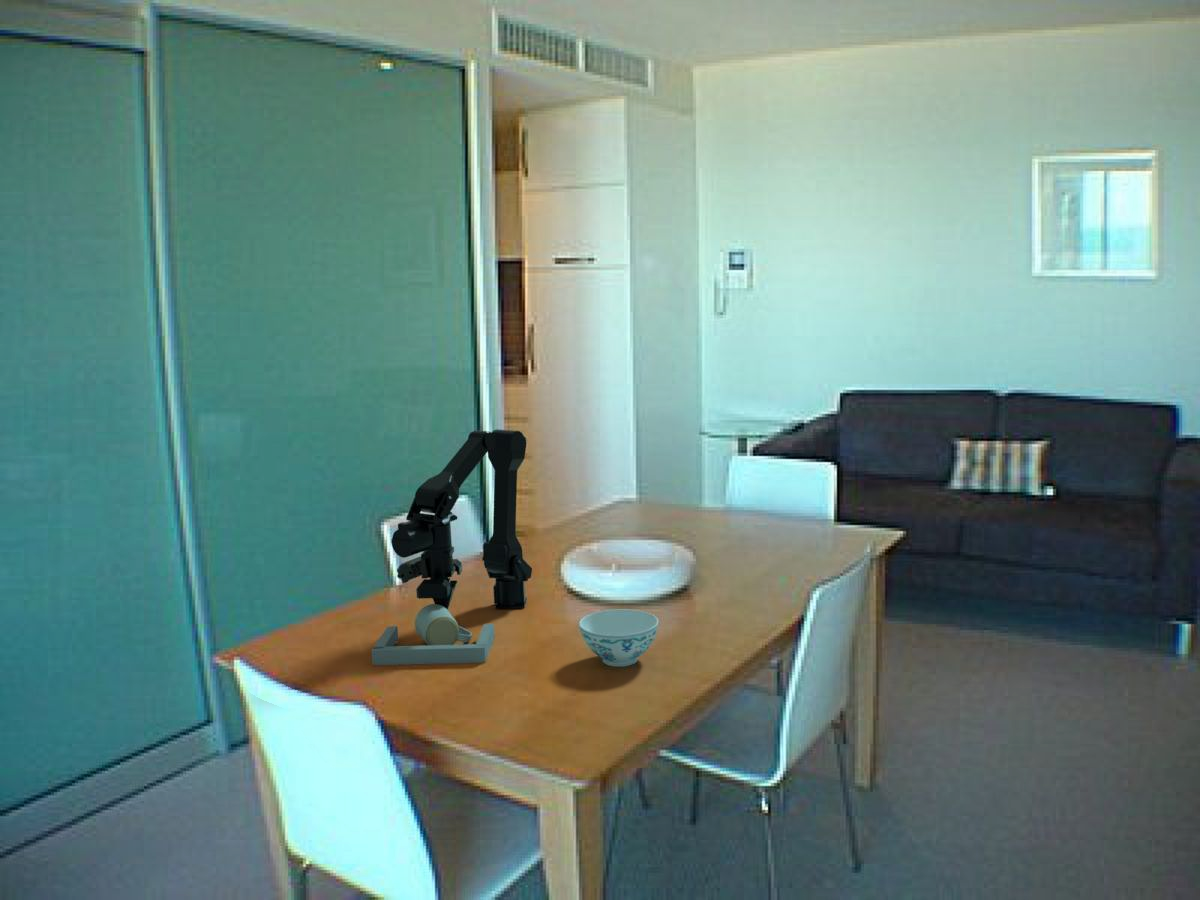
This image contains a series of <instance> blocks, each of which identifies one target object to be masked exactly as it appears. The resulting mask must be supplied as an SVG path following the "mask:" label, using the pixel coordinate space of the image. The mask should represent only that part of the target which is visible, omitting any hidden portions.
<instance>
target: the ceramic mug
mask: <svg viewBox="0 0 1200 900" xmlns="http://www.w3.org/2000/svg"><path fill="white" fill-rule="evenodd" d="M458 624H459V623H458V622H457V621H456V618H454V616H453V615H452V614H451V612H450V611H449V609H448V610H447V609H446V608H445V607H444V606H442V605H439V604H435V603H431V604H428V605H425V606H423V607H422V608H421V609H420V610H419V611H418V613H417V614H416V617H415V619H414V626H415V627H414V628H415V631H416V633H417V634H418V636H420V638H421V640H423V641H424V642H425V644H427V646H428V645H455V643H456V642H461V643H462V642H463V643H469V642H470V641H471V640H472V636H473V634H472V632H470V631H469V630H468V629H466V628H464V627H463V626H460V625H458Z"/></svg>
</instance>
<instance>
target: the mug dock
mask: <svg viewBox="0 0 1200 900" xmlns="http://www.w3.org/2000/svg"><path fill="white" fill-rule="evenodd" d="M495 638H496V633H495V623H484V624H483V626H482V629H481V631H480V634H479V635H478V638H477V640H476V642H475V644H473V643H472V644H470V643H469V644H453V645H428V644H427V645H398V646H396V645H397V643H398V642H399V628H398V625H388V626H387V627H386V628H385V630H384V631H383V633H382V634H381V635H380V637H379V638H378V640H377V641H376V643H375V644H374V646H373V647H372V649H371V663H372V666H395V665H396V666H397V665H398V666H399V664H401V665H402V664H403V665H404V666H405V665H430V664H431V665H434V664H435V665H436V664H468V663H469V664H472V663H473V664H477V663H478V664H481V663H487V662H486V661H487V660H488V657H489V654H490V651H491V649H492V647H493V644H494V641H495ZM397 641H398V642H397ZM396 642H397V643H396ZM492 643H493V644H492ZM395 644H396V645H395Z"/></svg>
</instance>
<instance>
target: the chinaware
mask: <svg viewBox="0 0 1200 900" xmlns="http://www.w3.org/2000/svg"><path fill="white" fill-rule="evenodd" d="M578 624H579V630H580V633H581V636H582V639H583V641H584V642H585V645H586V646H587V647H588V649H590V651H591V652H593V654H595V655H596V656H597V657H599V658H601V659H602V662H603V664H605V665H607V666H610V667H627V666H631V665H634V664H635V663H637V662H638V658H639V657H641V656H642V655H643V654H644V653H646V651H647V650H648V649H649V648H650V646H651V645H652V644H653V642H654V640H655V637H656V635H657V631H658V627H659V619H658V617H656V616H655V615H653V613H649V612H646V611H642V610H638V609H628V608H624V609H622V608H621V609H619V608H618V609H608V610H607V609H606V610H600V611H596V612H593V613H590V614H588V615H585V616H584V617H582V618H581V620H579V623H578Z"/></svg>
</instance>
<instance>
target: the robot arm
mask: <svg viewBox="0 0 1200 900" xmlns="http://www.w3.org/2000/svg"><path fill="white" fill-rule="evenodd" d="M526 450H527V438H526V436H525V435H524V434H523V432H521V431H520V430H510V429H498V428H497V429H493V430H492V431H488V430H477V429H476V430H473V431H471V432H469V435H468V437H467V439H466V441H465V442H464V444H462V445H461V447H460V448H459V449H458V451H457V452H456V453H455V454H454V456H453V457H452V458H451V460H450V461H449V462H448V463H447V464H446V466H445V467H444V468H443V469H442V470H441V471H440V472H439V473H438V474H437V475H434V476H432V477H430V478H428V479H427V480H425V482H423V483H422V484H421V485H420V486H418V488H417V489H416V491H415V494H414V498H413V501H412V503H411V505H410V508H409V511H408V513H407V515H406V518H405V519H406V521H403V522H399V523H398V524H397V529H396V530H395V531H394V532H393V534H392V536H391V537H392V538H391V541H390V543H391V547H392V549H393V551H394V553H395V554H396V555H397V556H398V557H400V558H402V559H403V558H409V557H411V556H414V555H417V554H420V556H418V557H416V558H413V559H410V560H408V561H405V562H403V563H400V564H399V565H398V567H397V568H396V572H397V575H396V577H397V578H398V579H400V580H401V582H402V584H406V583H408V582H409V581H411V580H413V579H416V578H419V577H420V576H421V579H422V581H421V582H420V583H419V585H417V587H416V590H415V591H416V598H417V599H432V601H433V604H439V605H442V606H444V607H445V608H446V609H447V610H448V611H449V607H450V605H451V602H452V599H453V596H454V593H455V590H456V586H457V584H458V580H456V579H455V580H451V578H452V577H453V575H454V574H455V572H456V575H457V576H458V575H459V576H460V575H461V574H462V572H463V567H462V565H463V564H462V562H461V561H460V560H459V559H458V558H453V554H454V552H455V546H452V545H453V544H452V543H453V542H452V529H451V527H452V526H451V523H452V522H454V521H456V520H458V516H457V515H456V514H455V513H453V512H452V510H453V509H454V506H455V505H456V503H457V501H458V500H459V497H460V489H461V486H462V485H463V484H464V482H465V481H466V480H467V478H468V477H469V476H470V475H471V473H472V472H473V471H474V470H475V469H476V467H477V465H479V463H480V462H481V461H482V460H483V458H485V455H486V454H487V457H488V460H489V461H490V464H491V466H492V468H493V469H494V479H493V480H494V481H493V483H494V484H493V487H494V488H493V515H492V516H493V517H492V518H493V521H492V523H493V524H492V535H491V536H490V538H489V540H488V542H485V541H484V542H483V544H482V551H483V552H482V553H483V554H482V558H481V561H483V565H484V569H486V573H487V576H488V578H489V579H495V582H494V584H493V603H494V605H495V609H496V610H497V609H498V610H500V609H524V608H525V607H526V604H527V601H528V597H527V596H526V582H528V581H529V579H531V578H532V571H533V568H532V567H531V565H529V563H527V561H526V560H524V558H523V547H522V545H521V542H520V540H519V539H518V538H517V535H516V525H517V523H516V521H517V492H518V491H517V489H518V488H517V487H518V470H519V468H520V467H521V465H522V463H523V462H524V460H525V458H526V457H525V456H526ZM421 512H422V513H421Z"/></svg>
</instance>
